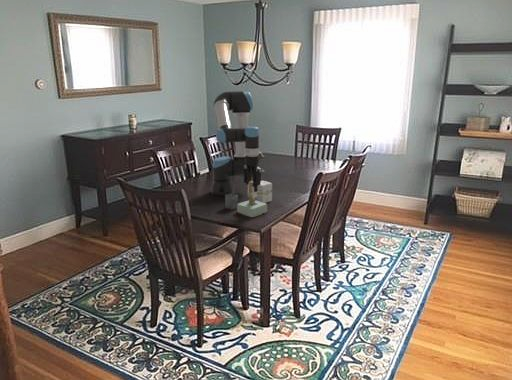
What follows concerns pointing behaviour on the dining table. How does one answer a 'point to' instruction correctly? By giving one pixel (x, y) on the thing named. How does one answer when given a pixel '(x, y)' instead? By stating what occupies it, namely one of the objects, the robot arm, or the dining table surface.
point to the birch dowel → (251, 199)
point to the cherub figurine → (261, 159)
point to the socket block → (252, 208)
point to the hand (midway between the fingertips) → (252, 196)
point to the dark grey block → (231, 201)
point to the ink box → (264, 192)
